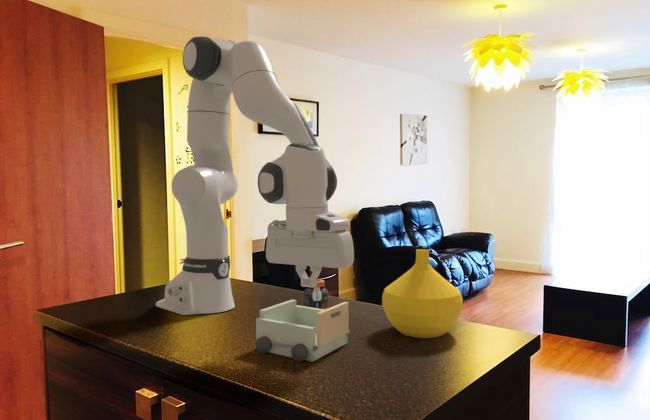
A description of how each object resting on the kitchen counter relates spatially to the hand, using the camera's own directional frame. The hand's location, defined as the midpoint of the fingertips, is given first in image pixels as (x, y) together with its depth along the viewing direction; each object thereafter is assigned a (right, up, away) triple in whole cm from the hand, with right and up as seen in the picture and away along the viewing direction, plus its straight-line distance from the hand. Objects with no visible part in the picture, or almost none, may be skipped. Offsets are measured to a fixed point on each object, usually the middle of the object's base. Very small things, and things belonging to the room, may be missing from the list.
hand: (309, 286), depth 110 cm
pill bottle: (+1, -12, +16) cm, 20 cm away
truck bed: (-1, -13, +1) cm, 13 cm away
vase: (+26, -12, +12) cm, 31 cm away
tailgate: (+5, -11, -3) cm, 12 cm away
